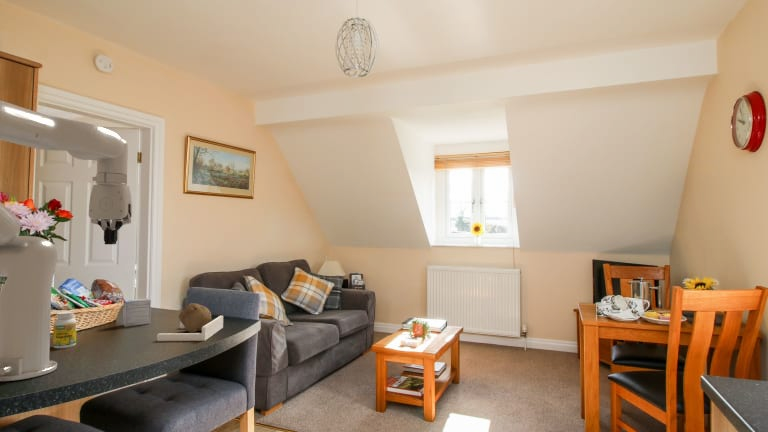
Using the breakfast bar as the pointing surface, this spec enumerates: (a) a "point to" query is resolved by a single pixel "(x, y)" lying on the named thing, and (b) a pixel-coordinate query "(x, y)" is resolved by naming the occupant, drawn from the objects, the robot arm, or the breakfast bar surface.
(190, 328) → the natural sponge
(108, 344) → the breakfast bar surface
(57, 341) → the supplement bottle
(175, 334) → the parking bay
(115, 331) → the breakfast bar surface
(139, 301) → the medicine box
